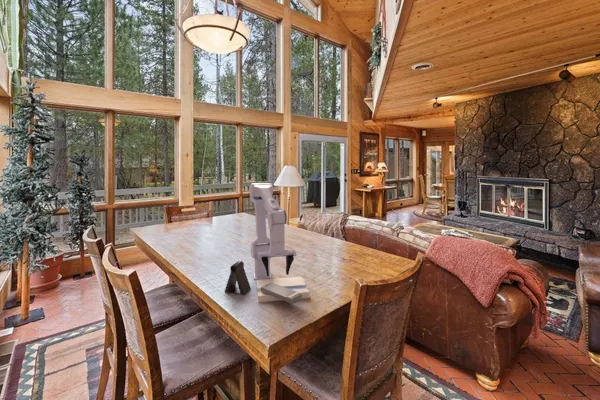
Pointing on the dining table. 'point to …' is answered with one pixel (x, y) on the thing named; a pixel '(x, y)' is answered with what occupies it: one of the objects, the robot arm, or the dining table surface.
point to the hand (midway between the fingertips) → (277, 274)
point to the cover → (281, 292)
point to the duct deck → (285, 282)
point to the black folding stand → (237, 280)
